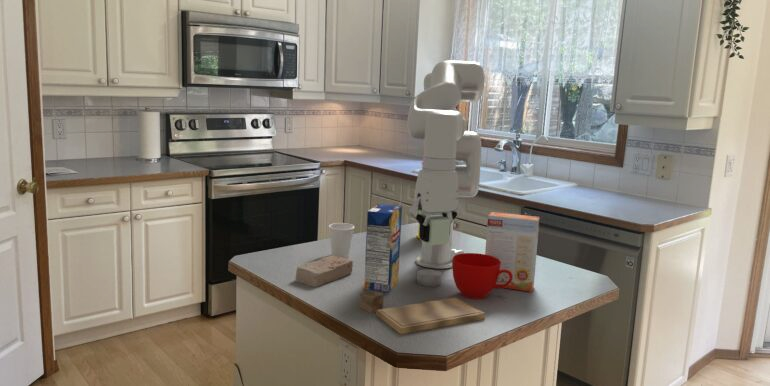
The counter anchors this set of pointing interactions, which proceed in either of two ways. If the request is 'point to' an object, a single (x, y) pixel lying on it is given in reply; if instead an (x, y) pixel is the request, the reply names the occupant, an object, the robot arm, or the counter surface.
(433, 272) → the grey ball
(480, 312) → the cutting board
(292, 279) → the counter surface
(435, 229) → the sage block
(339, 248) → the dixie cup
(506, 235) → the cracker box
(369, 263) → the beverage box
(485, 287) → the ceramic cup
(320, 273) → the brick
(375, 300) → the walnut block
